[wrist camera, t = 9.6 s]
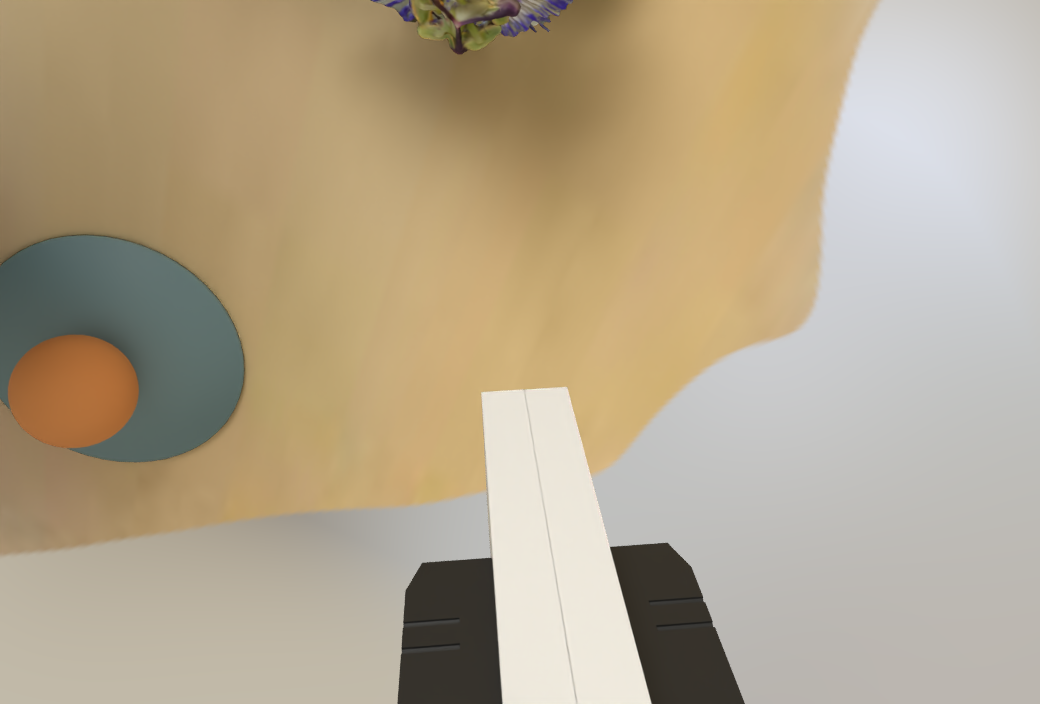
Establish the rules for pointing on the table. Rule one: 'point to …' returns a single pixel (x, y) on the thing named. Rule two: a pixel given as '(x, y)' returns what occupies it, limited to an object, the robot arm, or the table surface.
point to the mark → (129, 335)
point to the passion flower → (475, 18)
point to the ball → (73, 391)
